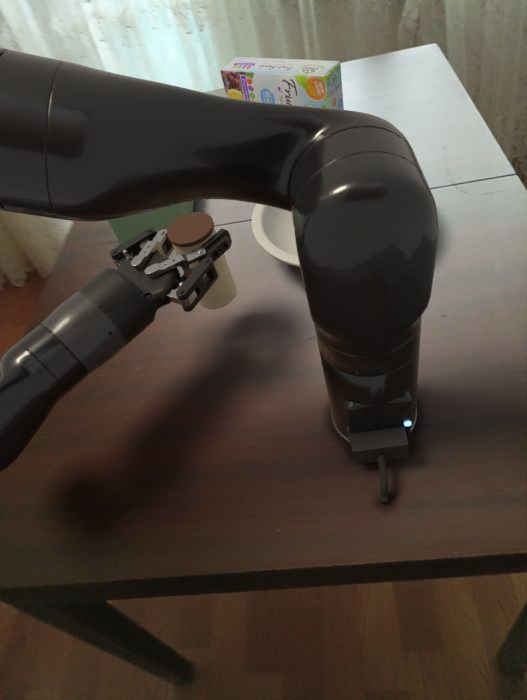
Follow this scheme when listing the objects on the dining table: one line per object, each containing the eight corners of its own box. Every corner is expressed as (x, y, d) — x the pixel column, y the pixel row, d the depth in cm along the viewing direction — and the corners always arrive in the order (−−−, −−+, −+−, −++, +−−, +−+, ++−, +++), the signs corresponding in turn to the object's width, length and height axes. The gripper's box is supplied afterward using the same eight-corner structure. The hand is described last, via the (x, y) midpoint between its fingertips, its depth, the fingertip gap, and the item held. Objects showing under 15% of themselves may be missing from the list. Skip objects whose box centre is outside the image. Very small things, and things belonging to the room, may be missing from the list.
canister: (237, 306, 62) (212, 237, 54) (196, 313, 63) (165, 247, 55) (237, 276, 66) (213, 207, 57) (198, 283, 66) (168, 217, 58)
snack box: (349, 146, 90) (342, 59, 78) (334, 164, 88) (325, 76, 76) (253, 133, 100) (234, 54, 88) (238, 149, 98) (216, 69, 86)
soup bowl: (420, 302, 65) (422, 265, 60) (245, 301, 72) (234, 267, 67) (422, 189, 79) (424, 151, 73) (276, 197, 85) (268, 163, 80)
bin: (191, 232, 84) (179, 202, 80) (121, 246, 86) (106, 218, 82) (194, 189, 92) (184, 160, 88) (131, 202, 94) (117, 174, 89)
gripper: (122, 326, 46) (246, 219, 52) (47, 271, 54) (162, 184, 59) (153, 372, 52) (262, 271, 57) (81, 317, 59) (183, 233, 65)
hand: (210, 227), depth 58 cm, fingers closed on canister, 5 cm apart
